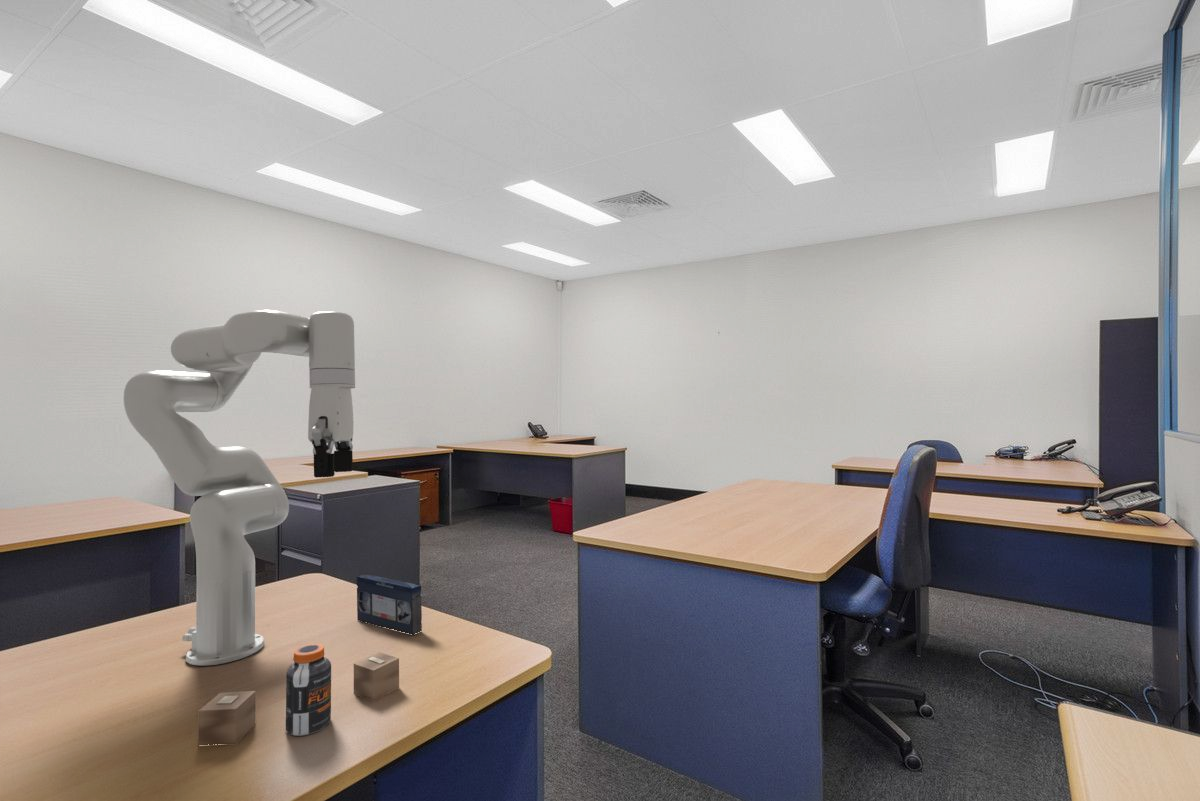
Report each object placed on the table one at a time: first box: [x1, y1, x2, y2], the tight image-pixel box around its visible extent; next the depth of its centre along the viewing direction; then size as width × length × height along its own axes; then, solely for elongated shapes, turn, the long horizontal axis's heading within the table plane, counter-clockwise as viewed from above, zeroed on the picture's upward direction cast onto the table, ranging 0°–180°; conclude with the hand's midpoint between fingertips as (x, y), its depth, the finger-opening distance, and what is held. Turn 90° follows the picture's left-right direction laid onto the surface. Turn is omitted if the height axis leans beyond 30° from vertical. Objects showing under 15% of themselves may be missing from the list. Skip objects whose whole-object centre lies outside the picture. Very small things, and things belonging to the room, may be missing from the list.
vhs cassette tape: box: [356, 573, 423, 636], centre depth 119 cm, size 18×3×10 cm, turn 58°
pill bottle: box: [285, 643, 332, 737], centre depth 81 cm, size 6×6×11 cm
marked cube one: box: [197, 690, 257, 746], centre depth 79 cm, size 5×5×5 cm
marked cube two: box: [353, 651, 400, 702], centre depth 91 cm, size 5×5×5 cm
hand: (334, 474), depth 100 cm, fingers open, 9 cm apart
